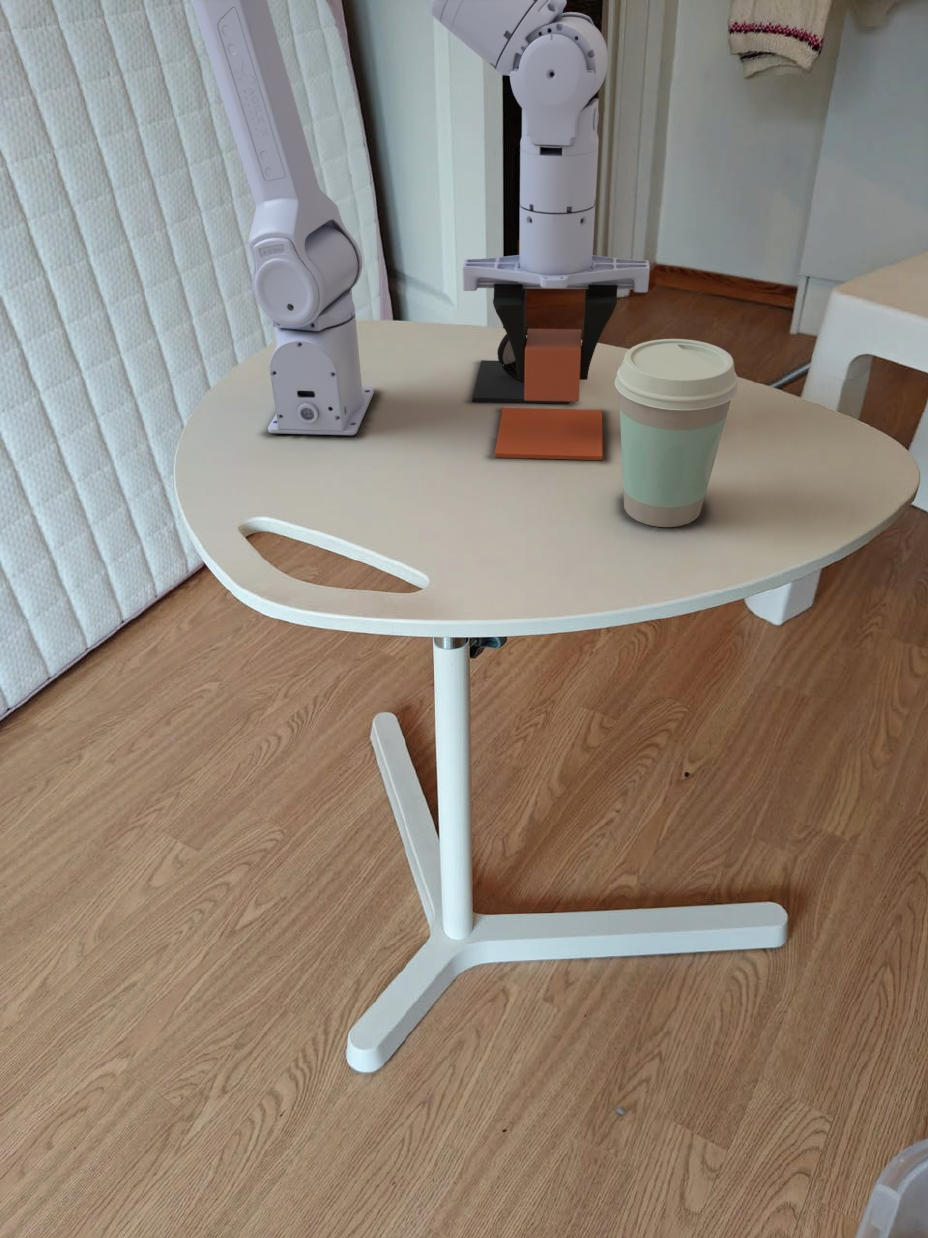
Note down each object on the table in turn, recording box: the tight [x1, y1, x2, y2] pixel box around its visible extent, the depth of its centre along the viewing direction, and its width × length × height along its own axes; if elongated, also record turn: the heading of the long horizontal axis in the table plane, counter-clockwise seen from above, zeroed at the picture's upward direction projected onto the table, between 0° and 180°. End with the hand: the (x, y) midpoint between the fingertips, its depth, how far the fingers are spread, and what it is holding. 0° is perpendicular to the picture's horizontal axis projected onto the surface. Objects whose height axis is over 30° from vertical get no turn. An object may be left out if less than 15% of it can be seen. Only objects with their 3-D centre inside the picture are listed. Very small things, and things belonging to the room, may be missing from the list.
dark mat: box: [471, 359, 570, 405], centre depth 95 cm, size 9×9×1 cm
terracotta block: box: [524, 328, 583, 402], centre depth 82 cm, size 4×4×4 cm
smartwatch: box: [496, 324, 536, 382], centre depth 93 cm, size 4×5×5 cm
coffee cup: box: [614, 338, 739, 528], centre depth 72 cm, size 8×8×12 cm
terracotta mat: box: [494, 407, 604, 461], centre depth 86 cm, size 9×9×1 cm
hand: (552, 374), depth 82 cm, fingers closed on terracotta block, 4 cm apart
